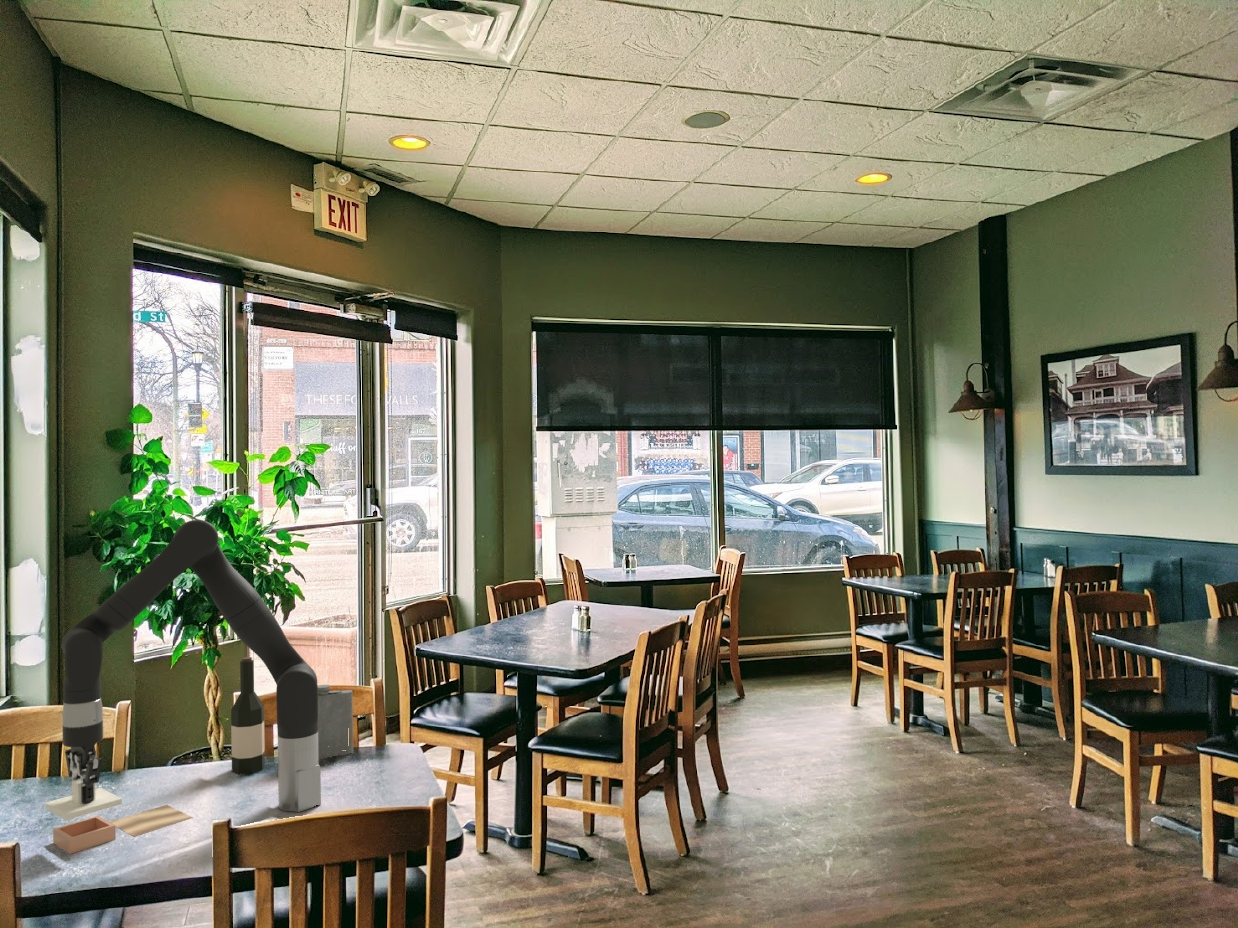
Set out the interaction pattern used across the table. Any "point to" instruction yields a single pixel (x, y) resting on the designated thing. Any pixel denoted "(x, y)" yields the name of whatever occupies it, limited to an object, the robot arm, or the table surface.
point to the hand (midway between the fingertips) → (83, 799)
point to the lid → (75, 807)
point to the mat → (150, 820)
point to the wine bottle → (247, 725)
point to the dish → (84, 834)
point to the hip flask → (334, 722)
